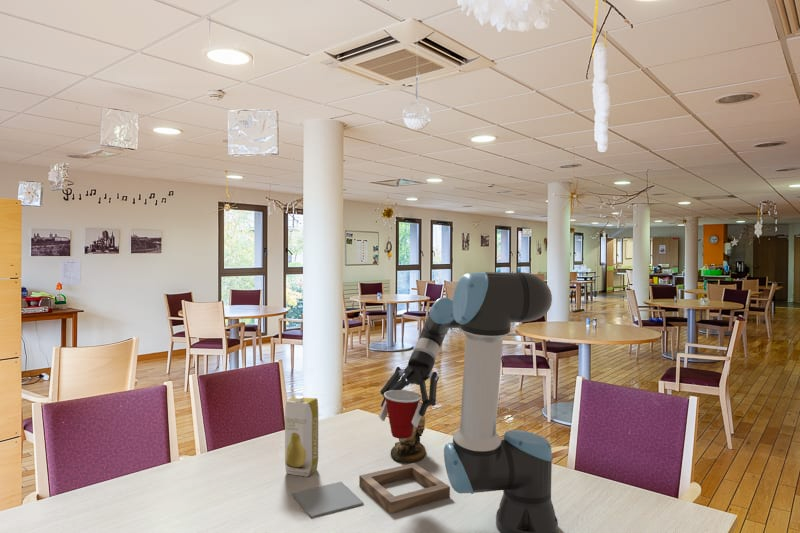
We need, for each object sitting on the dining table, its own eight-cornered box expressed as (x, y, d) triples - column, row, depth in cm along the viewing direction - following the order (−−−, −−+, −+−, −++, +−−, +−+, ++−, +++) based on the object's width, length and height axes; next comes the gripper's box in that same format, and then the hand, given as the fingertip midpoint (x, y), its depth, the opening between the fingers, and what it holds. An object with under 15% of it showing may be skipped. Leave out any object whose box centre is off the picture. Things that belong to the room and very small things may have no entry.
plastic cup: (418, 443, 145) (418, 400, 144) (379, 440, 147) (379, 398, 146) (424, 430, 155) (424, 389, 155) (388, 427, 157) (388, 388, 157)
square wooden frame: (449, 497, 148) (449, 486, 148) (390, 513, 138) (390, 502, 138) (414, 472, 164) (414, 462, 164) (359, 485, 155) (359, 475, 155)
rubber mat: (363, 504, 143) (363, 502, 143) (311, 517, 136) (311, 516, 136) (341, 483, 156) (341, 481, 156) (292, 494, 149) (292, 492, 149)
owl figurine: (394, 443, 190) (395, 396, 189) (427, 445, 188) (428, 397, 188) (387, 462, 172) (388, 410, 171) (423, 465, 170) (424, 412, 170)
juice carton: (281, 474, 162) (281, 397, 161) (295, 464, 169) (295, 390, 169) (308, 479, 159) (309, 400, 158) (321, 468, 166) (321, 393, 166)
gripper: (461, 367, 158) (437, 435, 145) (396, 359, 169) (369, 421, 156) (454, 353, 153) (429, 421, 140) (387, 345, 165) (359, 408, 152)
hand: (397, 421), depth 148 cm, fingers closed on plastic cup, 10 cm apart
